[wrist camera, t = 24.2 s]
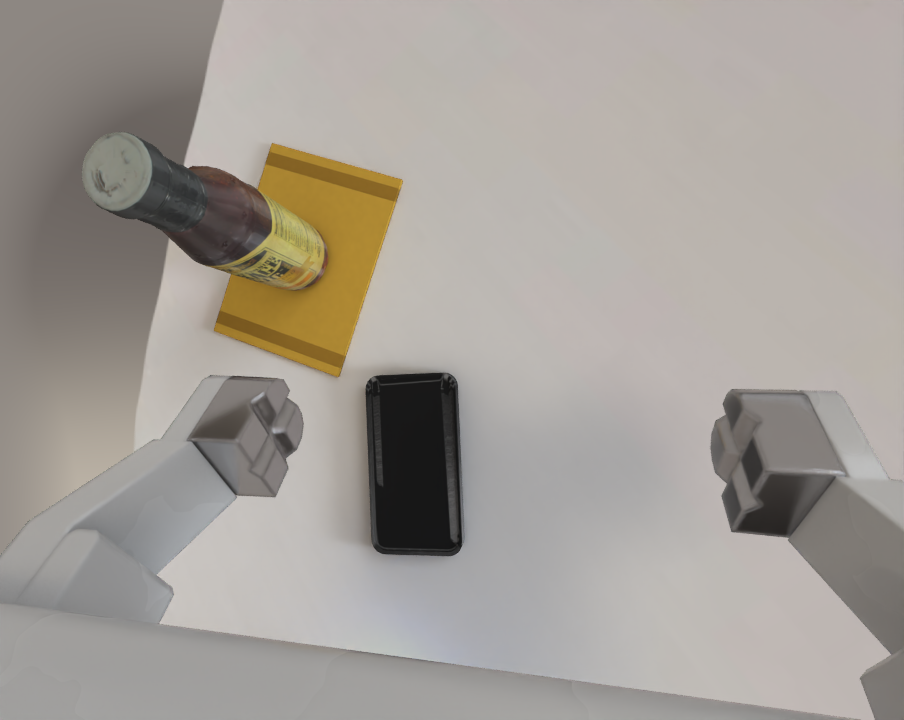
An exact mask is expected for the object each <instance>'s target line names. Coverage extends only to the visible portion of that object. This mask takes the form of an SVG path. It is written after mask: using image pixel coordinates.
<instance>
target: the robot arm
mask: <svg viewBox="0 0 904 720" xmlns="http://www.w3.org/2000/svg"><path fill="white" fill-rule="evenodd" d="M289 392H290V390H289V388H288V386H287V384H286V383H285V381H284V379H278V378H263V377H244V376H218V375H210V376H208V377H207V378H205V379H203V380H202V381H201V383H200V384H199V386H198V387H197V388H196V390H195V391H194V393H193V394H192V395H191V397H190V398H189V400H188V401H187V403H186V404H185V405H184V407H183V408H182V410H181V411H180V413H179V414H178V415H177V417H176V418H175V420H174V421H173V422H172V424H171V425H170V427H169V428H168V430H167V431H166V432H165V434H164V435H163V437H162V438H161V440H152V441H150V442H149V443H147V444H146V445H144V446H143V447H141V448H140V449H138V450H137V451H135V452H134V453H132V454H131V455H129V456H127V457H126V458H124V459H123V460H121V461H120V462H118V463H117V464H115V465H114V466H112V467H111V468H109V469H107V470H106V471H104V472H103V473H102V474H100V475H98V476H97V477H95V478H94V479H92V480H91V481H89V482H87V483H86V484H84V485H83V486H81V487H80V488H78V489H77V490H75V491H74V492H72V493H71V494H69V495H68V496H66V497H64V498H63V499H62V500H60V501H58V502H57V503H56V504H54V505H52V506H51V507H49V508H48V509H46V510H45V511H43V512H42V513H40V514H39V515H37V516H35V517H34V518H32V519H31V520H29V521H28V522H27V523H26V524H25V526H24V527H23V528H22V529H21V531H20V532H19V533H18V534H17V535H16V537H15V538H14V539H13V540H12V542H11V543H10V544H9V545H8V547H7V548H6V549H5V550H4V551H3V553H2V554H1V555H0V720H859V719H852V718H845V717H837V716H830V715H823V714H815V713H808V712H801V711H793V710H786V709H779V708H771V707H764V706H757V705H749V704H742V703H735V702H727V701H720V700H713V699H705V698H698V697H691V696H683V695H676V694H669V693H661V692H654V691H647V690H639V689H632V688H625V687H617V686H610V685H603V684H595V683H588V682H581V681H573V680H566V679H559V678H551V677H544V676H537V675H529V674H522V673H515V672H507V671H500V670H493V669H485V668H478V667H471V666H463V665H456V664H449V663H441V662H434V661H427V660H419V659H412V658H405V657H397V656H390V655H383V654H375V653H368V652H361V651H353V650H346V649H339V648H331V647H324V646H317V645H309V644H302V643H295V642H287V641H280V640H273V639H265V638H258V637H251V636H244V635H236V634H229V633H222V632H214V631H207V630H200V629H192V628H185V627H178V626H170V625H163V624H159V622H160V621H161V619H162V617H163V615H164V613H165V611H166V609H167V607H168V605H169V603H170V601H171V599H172V597H173V595H174V593H173V589H172V587H171V586H170V585H168V584H167V583H166V582H165V581H163V580H162V579H161V578H159V577H158V576H157V575H156V574H158V573H159V572H160V571H161V570H162V569H163V568H164V567H165V566H166V565H167V564H168V563H169V562H170V561H171V560H172V559H173V558H174V557H175V556H176V555H177V554H179V553H180V552H181V551H182V550H183V549H184V548H185V547H186V546H187V545H188V544H189V543H190V542H191V541H192V540H193V539H194V538H195V537H196V536H197V535H198V534H199V533H201V532H202V531H203V530H204V529H205V528H206V527H207V526H208V525H209V524H210V523H211V522H212V521H213V520H214V519H215V518H216V517H217V516H218V515H219V514H220V513H221V512H223V511H224V510H225V509H226V508H227V507H228V506H229V505H230V504H231V503H232V502H233V501H234V500H235V499H236V498H237V496H236V495H239V496H260V497H276V495H277V493H278V490H279V488H280V486H281V484H282V482H283V479H284V477H285V475H286V473H287V471H288V465H287V461H286V458H287V457H288V456H289V455H291V454H292V453H293V452H295V451H296V450H297V448H298V446H299V443H300V441H301V439H302V433H303V425H304V423H303V417H302V413H301V411H300V409H299V407H298V405H297V404H295V403H294V402H292V401H291V400H290V399H288V398H287V396H288V394H289ZM723 407H724V410H725V413H726V415H724V416H723V417H721V418H719V419H718V420H716V422H715V425H714V428H713V431H712V434H711V456H712V462H713V466H714V470H715V473H716V474H717V475H718V476H719V477H720V478H721V479H722V480H723V481H725V482H726V483H727V485H726V487H725V489H724V491H723V494H722V500H723V503H724V507H725V511H726V514H727V518H728V521H729V525H730V528H731V532H737V533H747V534H757V535H767V536H777V537H787V538H789V539H788V541H789V542H790V543H791V544H792V545H793V547H794V548H795V549H796V550H797V551H798V552H799V553H800V554H801V555H802V556H803V558H804V559H805V560H806V561H807V562H808V563H809V564H810V565H811V566H812V568H813V569H814V570H815V571H816V572H817V573H818V574H819V575H820V576H821V577H822V579H823V580H824V581H825V582H826V583H827V584H828V585H829V586H830V587H831V588H832V590H833V591H834V592H835V593H836V594H837V595H838V596H839V597H840V598H841V600H842V601H843V602H844V603H845V604H846V605H847V606H848V607H849V608H850V609H851V611H852V612H853V613H854V614H855V615H856V616H857V617H858V618H859V619H860V620H861V622H862V623H863V624H864V625H865V626H866V627H867V628H868V629H869V630H870V632H871V633H872V634H873V635H874V636H875V637H876V638H877V639H878V640H879V641H880V643H881V644H882V645H883V646H884V647H885V648H886V649H887V650H888V651H889V652H890V654H891V655H890V656H889V657H887V658H886V659H884V660H882V661H881V662H879V663H877V664H876V665H874V666H872V667H871V668H869V669H867V670H866V671H865V672H864V674H863V675H862V676H861V677H860V680H861V683H862V685H863V688H864V691H865V693H866V696H867V699H868V701H869V704H870V707H871V710H872V712H873V715H874V718H875V720H904V481H902V480H893V479H890V478H889V476H888V475H887V473H886V471H885V469H884V468H883V466H882V464H881V462H880V461H879V459H878V457H877V455H876V454H875V452H874V450H873V448H872V447H871V445H870V443H869V441H868V439H867V438H866V436H865V434H864V432H863V431H862V429H861V427H860V425H859V424H858V422H857V420H856V418H855V417H854V415H853V413H852V411H851V410H850V408H849V406H848V404H847V403H846V401H845V399H844V397H843V396H842V395H841V394H839V393H838V392H837V391H805V390H800V391H797V390H759V389H732V390H731V391H729V392H728V393H727V395H726V397H725V399H724V402H723Z"/></svg>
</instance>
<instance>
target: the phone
mask: <svg viewBox="0 0 904 720" xmlns="http://www.w3.org/2000/svg"><path fill="white" fill-rule="evenodd" d="M366 412H367V438H368V463H369V489H370V515H371V540H372V545H373V547H374V548H375V549H376V550H377V551H378V552H380V553H382V554H396V555H429V556H453V555H455V554H457V553H458V552H459V551H460V549H461V547H462V545H463V543H464V518H463V495H462V472H461V449H460V426H459V403H458V385H457V381H456V379H455V378H454V377H453V376H452V375H450V374H448V373H427V374H403V375H379V376H374V377H372V378H371V379H370V380H369V381H368V382H367V385H366Z"/></svg>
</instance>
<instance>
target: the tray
mask: <svg viewBox="0 0 904 720" xmlns="http://www.w3.org/2000/svg"><path fill="white" fill-rule="evenodd" d="M402 182H403V181H402V180H401V179H398V178H394V177H391V176H387V175H384V174H380V173H377V172H373V171H369V170H366V169H362V168H359V167H355V166H352V165H348V164H345V163H341V162H337V161H334V160H330V159H327V158H323V157H320V156H316V155H313V154H309V153H305V152H302V151H298V150H295V149H291V148H288V147H284V146H281V145H277V144H273V143H272V145H271V148H270V151H269V154H268V157H267V160H266V164H265V167H264V170H263V174H262V177H261V180H260V183H259V187H258V190H259V191H260V192H262V193H263V194H265V195H266V196H268V197H269V198H271V199H272V200H274V201H276V202H277V203H279V204H280V205H282V206H283V207H285V208H286V209H288V210H289V211H291V212H292V213H294V214H295V215H297V216H298V217H300V218H301V219H303V220H304V221H306V222H307V223H309V224H310V225H311V226H313V227H314V228H315V229H316V230H318V231H319V233H320V234H321V235H322V237H323V240H324V242H325V244H326V246H327V251H328V264H327V266H326V269H325V271H324V273H323V275H322V277H321V278H320V279H319V281H318V282H317V283H315V284H313V285H311V287H307V288H305V289H302V290H297V291H294V290H293V291H291V290H283V289H278V288H275V287H272V286H269V285H266V284H262V283H259V282H256V281H253V280H249V279H246V278H243V277H239V276H236V275H233V274H231V277H230V280H229V283H228V286H227V289H226V293H225V296H224V299H223V302H222V306H221V309H220V312H219V315H218V318H217V321H216V325H215V328H214V331H216V332H218V333H221V334H224V335H226V336H229V337H232V338H234V339H237V340H240V341H242V342H245V343H248V344H251V345H253V346H256V347H259V348H261V349H264V350H267V351H269V352H272V353H275V354H277V355H280V356H283V357H285V358H288V359H291V360H293V361H296V362H299V363H301V364H304V365H307V366H309V367H312V368H315V369H318V370H320V371H323V372H326V373H328V374H331V375H334V376H336V377H339V375H340V372H341V369H342V366H343V363H344V360H345V357H346V354H347V351H348V348H349V345H350V342H351V339H352V335H353V332H354V329H355V326H356V323H357V320H358V317H359V314H360V311H361V308H362V305H363V302H364V299H365V296H366V293H367V290H368V286H369V283H370V280H371V277H372V274H373V271H374V268H375V265H376V262H377V259H378V256H379V253H380V250H381V247H382V244H383V241H384V237H385V234H386V231H387V228H388V225H389V222H390V219H391V216H392V213H393V210H394V207H395V204H396V201H397V198H398V195H399V191H400V188H401V185H402Z"/></svg>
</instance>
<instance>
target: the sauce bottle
mask: <svg viewBox="0 0 904 720" xmlns="http://www.w3.org/2000/svg"><path fill="white" fill-rule="evenodd" d="M82 179H83V184H84V189H85V190H86V192H87V194H88V195H89V197H90V198H91V199H92V200H93V201H94V203H96V205H97V206H99V207H100V208H102V209H104V210H107V211H109V212H111V213H113V214H115V215H117V216H120V217H122V218H126V219H138V220H140V221H143V222H145V223H149V224H151V225H153V226H155V227H156V228H158V229H160V230H162V231H163V232H164V233H165V234H166V235H167V236H168V237H169V238H170V239H171V240H172V241H173V242H175V243H176V244H177V245H178V246H179V247H180V248H181V249H182V250H183V251H184V252H185V253H186V254H187V255H188V256H189V257H191V258H192V259H193V260H194V261H196V262H198V263H200V264H203V265H205V266H209V267H212V268H215V269H218V270H221V271H225V272H227V273H231V274H233V275H236V276H239V277H243V278H246V279H249V280H253V281H256V282H259V283H262V284H266V285H269V286H272V287H275V288H278V289H283V290H291V291H293V290H294V291H297V290H302V289H305V288H307V287H311V285H313V284H315V283H317V282H318V281H319V279H320V278H321V277H322V275H323V273H324V271H325V269H326V266H327V264H328V251H327V246H326V244H325V242H324V240H323V237H322V235H321V234H320V233H319V231H318V230H316V229H315V228H314V227H313V226H311V225H310V224H309V223H307V222H306V221H304V220H303V219H301V218H300V217H298V216H297V215H295V214H294V213H292V212H291V211H289V210H288V209H286V208H285V207H283V206H282V205H280V204H279V203H277V202H276V201H274V200H272V199H271V198H269V197H268V196H266V195H265V194H263V193H262V192H260V191H259V190H257V189H256V188H254V187H253V186H251V185H249V184H246V183H244V182H242V181H241V180H239V179H238V178H236V177H235V176H233V175H231V174H229V173H227V172H225V171H223V170H220V169H217V168H212V167H208V166H192V167H190V168H186V167H185V166H183V165H178V164H176V163H175V162H173V161H171V160H169V159H168V158H166V157H164V156H163V155H162V153H161V152H160V151H159V150H158V149H157V148H156V147H155V146H153V145H152V144H150V143H148V142H146V141H144V140H143V139H141V138H139V137H137V136H135V135H132V134H130V133H126V132H118V133H110V134H107V135H105V136H103V137H101V138H100V139H98V140H97V141H96V142H95V144H94V145H93V147H91V148H90V150H89V151H88V152H87V154H86V156H85V159H84V163H83V168H82Z"/></svg>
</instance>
